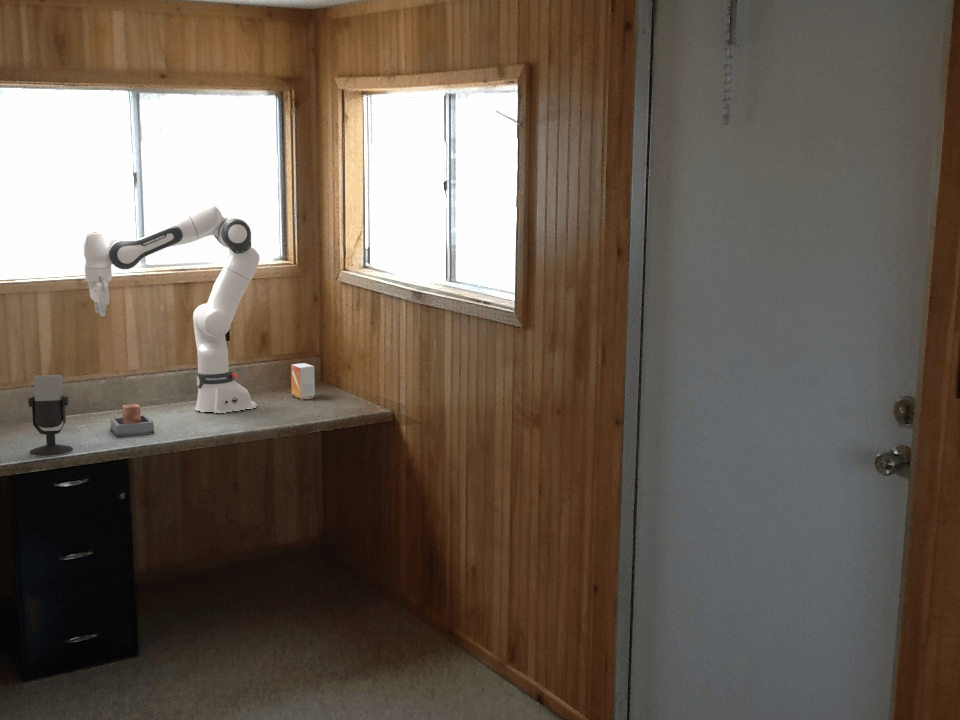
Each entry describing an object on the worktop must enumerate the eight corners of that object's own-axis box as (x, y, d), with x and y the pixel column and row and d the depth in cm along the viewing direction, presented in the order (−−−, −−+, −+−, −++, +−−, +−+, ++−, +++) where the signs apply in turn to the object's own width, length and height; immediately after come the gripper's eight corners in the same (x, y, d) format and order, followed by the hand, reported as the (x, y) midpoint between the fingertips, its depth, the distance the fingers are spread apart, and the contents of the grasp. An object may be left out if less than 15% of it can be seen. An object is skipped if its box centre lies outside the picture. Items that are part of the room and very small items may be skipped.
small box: (291, 397, 446) (290, 364, 444) (306, 395, 450) (305, 362, 447) (300, 400, 439) (299, 367, 437) (315, 398, 443) (314, 365, 441)
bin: (146, 426, 398) (146, 414, 397) (154, 433, 387) (153, 422, 386) (110, 429, 392) (110, 418, 391) (117, 437, 381) (116, 425, 381)
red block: (138, 426, 393) (137, 403, 391) (141, 429, 388) (140, 406, 387) (123, 427, 390) (122, 405, 389) (126, 431, 386) (124, 408, 385)
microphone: (75, 445, 370) (71, 370, 366) (69, 456, 358) (64, 377, 353) (33, 447, 368) (28, 371, 363) (26, 457, 355) (20, 379, 351)
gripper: (112, 278, 395) (114, 317, 398) (103, 272, 413) (105, 310, 416) (93, 279, 393) (96, 318, 395) (84, 273, 410) (87, 311, 413)
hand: (100, 314), depth 406 cm, fingers open, 8 cm apart
